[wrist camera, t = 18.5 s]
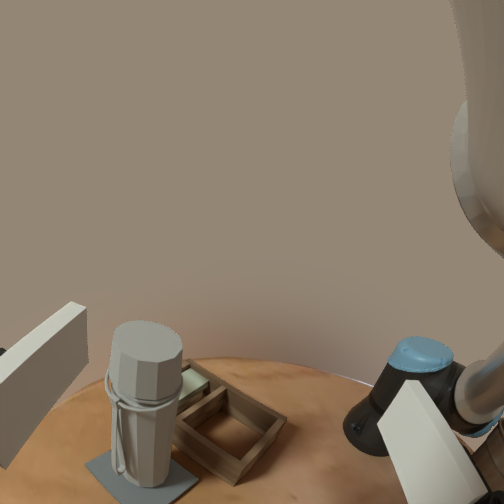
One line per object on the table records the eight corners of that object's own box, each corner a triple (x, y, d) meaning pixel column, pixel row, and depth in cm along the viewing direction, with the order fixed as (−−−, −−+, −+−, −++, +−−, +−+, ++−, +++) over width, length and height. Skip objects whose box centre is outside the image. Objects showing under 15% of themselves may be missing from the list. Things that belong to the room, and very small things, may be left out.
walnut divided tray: (185, 379, 54) (189, 358, 52) (276, 437, 44) (287, 417, 43) (132, 408, 42) (132, 386, 40) (233, 486, 32) (242, 469, 30)
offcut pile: (185, 386, 52) (189, 367, 51) (204, 399, 50) (209, 380, 49) (150, 407, 44) (151, 388, 42) (169, 424, 41) (172, 405, 40)
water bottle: (140, 443, 34) (147, 310, 28) (180, 472, 31) (206, 346, 25) (99, 471, 26) (75, 335, 20) (140, 507, 23) (135, 390, 17)
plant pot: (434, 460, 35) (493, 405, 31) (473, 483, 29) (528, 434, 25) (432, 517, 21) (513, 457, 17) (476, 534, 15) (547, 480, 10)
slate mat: (141, 435, 37) (141, 432, 36) (198, 480, 31) (199, 478, 31) (85, 465, 26) (84, 463, 26) (142, 523, 21) (142, 522, 21)
